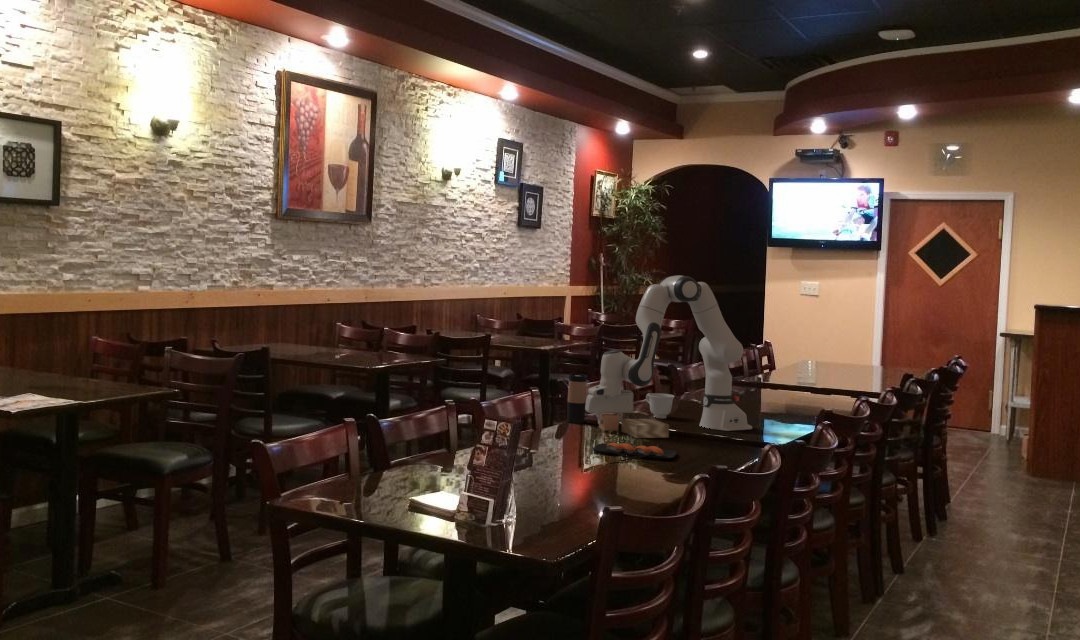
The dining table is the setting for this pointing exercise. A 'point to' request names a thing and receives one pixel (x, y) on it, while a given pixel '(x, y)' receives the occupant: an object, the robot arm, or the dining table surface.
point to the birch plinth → (645, 428)
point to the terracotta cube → (609, 421)
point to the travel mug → (576, 398)
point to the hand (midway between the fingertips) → (608, 423)
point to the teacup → (660, 404)
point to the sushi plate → (635, 451)
